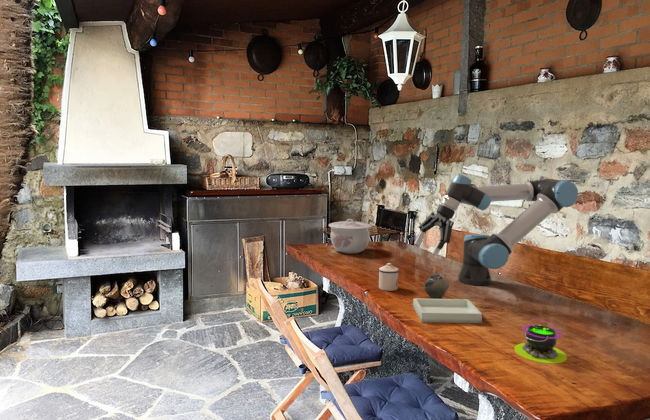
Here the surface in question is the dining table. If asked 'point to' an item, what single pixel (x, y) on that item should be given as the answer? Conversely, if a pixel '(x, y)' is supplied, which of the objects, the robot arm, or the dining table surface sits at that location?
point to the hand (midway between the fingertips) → (425, 249)
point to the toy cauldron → (541, 345)
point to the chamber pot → (350, 236)
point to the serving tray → (447, 310)
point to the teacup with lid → (388, 277)
